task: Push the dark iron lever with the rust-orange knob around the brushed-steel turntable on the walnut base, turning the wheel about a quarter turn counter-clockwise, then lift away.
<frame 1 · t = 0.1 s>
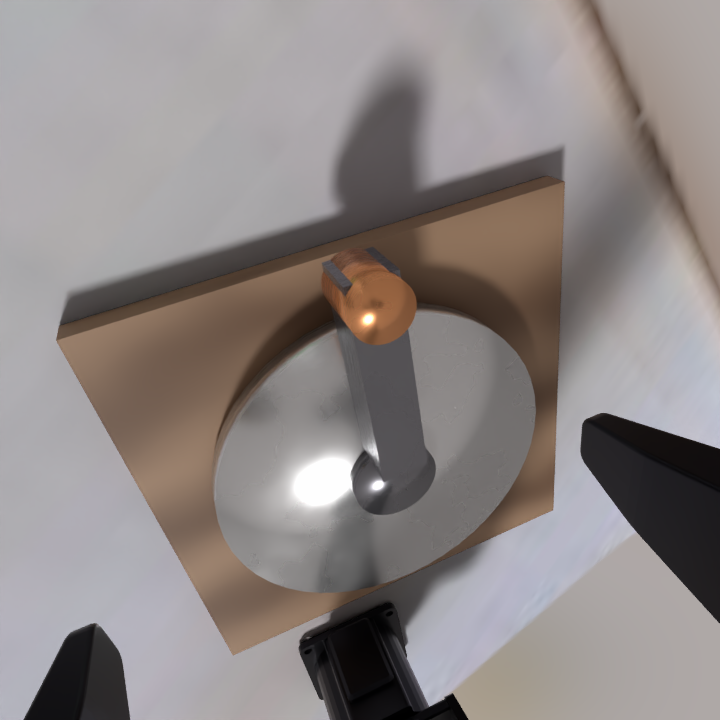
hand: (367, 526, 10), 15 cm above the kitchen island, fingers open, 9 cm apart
handwheel: (392, 457, 25), point 4 cm above the kitchen island, hinge at 0.0°
wheel base: (368, 435, 28), on the kitchen island
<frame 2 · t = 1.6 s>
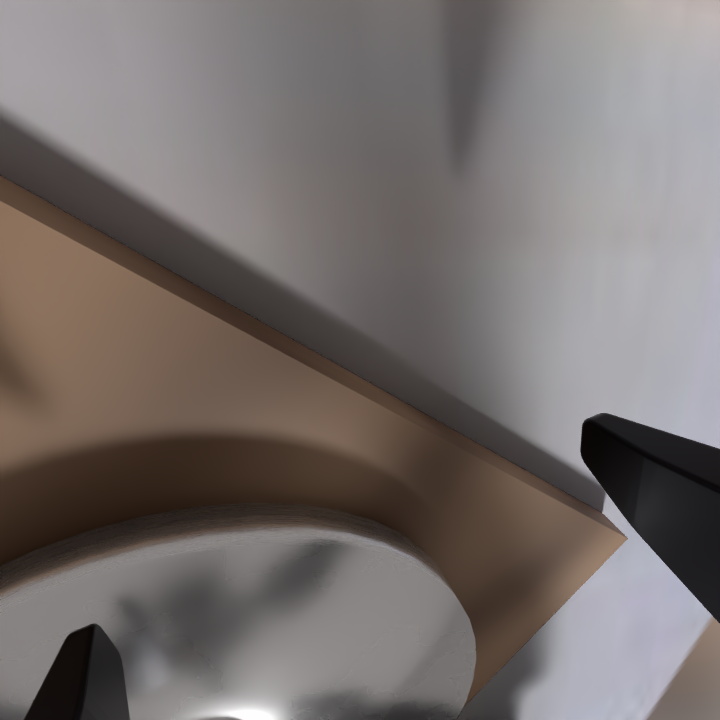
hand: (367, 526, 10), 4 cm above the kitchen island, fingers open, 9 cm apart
wheel base: (184, 678, 16), on the kitchen island
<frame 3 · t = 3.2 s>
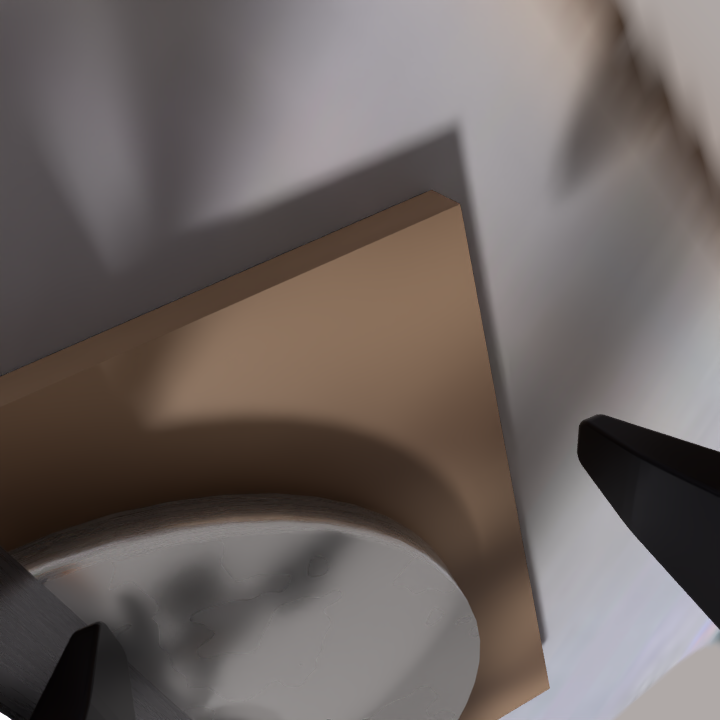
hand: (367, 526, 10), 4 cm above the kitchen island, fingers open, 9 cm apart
wheel base: (185, 674, 16), on the kitchen island
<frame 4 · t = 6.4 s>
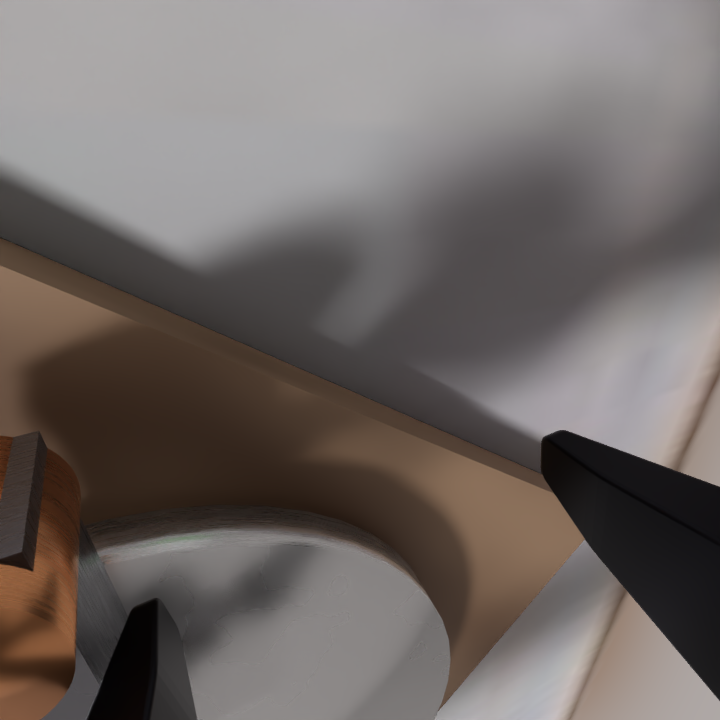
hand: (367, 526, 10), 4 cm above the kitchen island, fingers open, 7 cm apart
wheel base: (153, 688, 16), on the kitchen island
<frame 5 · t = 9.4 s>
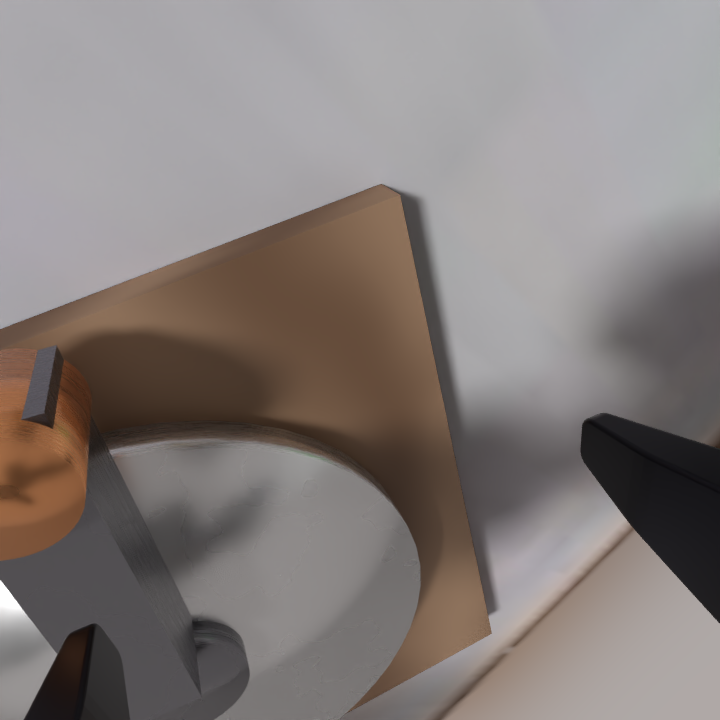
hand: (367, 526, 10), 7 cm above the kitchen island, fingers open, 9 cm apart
handwheel: (161, 667, 15), point 4 cm above the kitchen island, hinge at 82.9°
wheel base: (169, 591, 19), on the kitchen island
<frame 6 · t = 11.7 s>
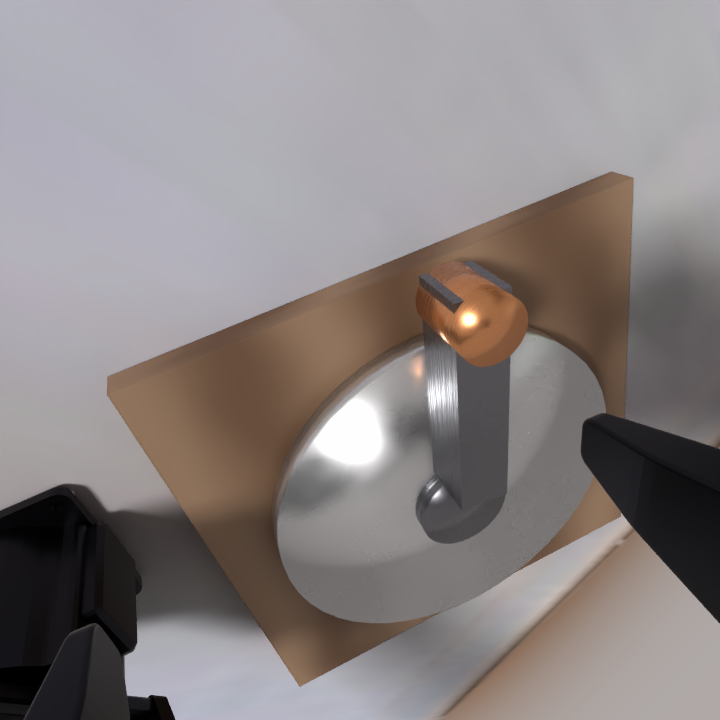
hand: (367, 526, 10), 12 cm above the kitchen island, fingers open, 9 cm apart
handwheel: (465, 484, 23), point 4 cm above the kitchen island, hinge at 82.9°
wheel base: (427, 457, 27), on the kitchen island
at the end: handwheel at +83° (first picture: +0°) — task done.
